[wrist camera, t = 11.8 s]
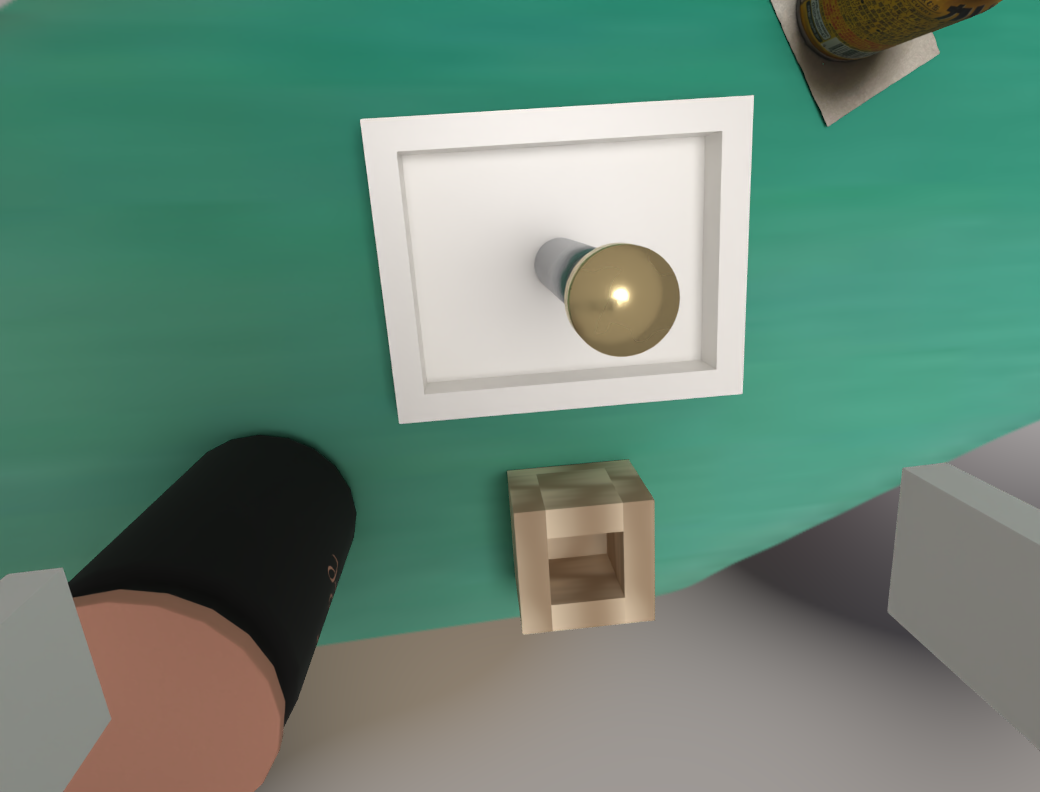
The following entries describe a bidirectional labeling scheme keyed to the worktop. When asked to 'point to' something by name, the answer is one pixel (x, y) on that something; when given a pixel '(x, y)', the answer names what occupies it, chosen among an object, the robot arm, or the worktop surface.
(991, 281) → the worktop surface
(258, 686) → the coffee jar
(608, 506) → the block
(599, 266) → the steel pin
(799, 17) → the condiment
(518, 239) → the tray
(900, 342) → the worktop surface
